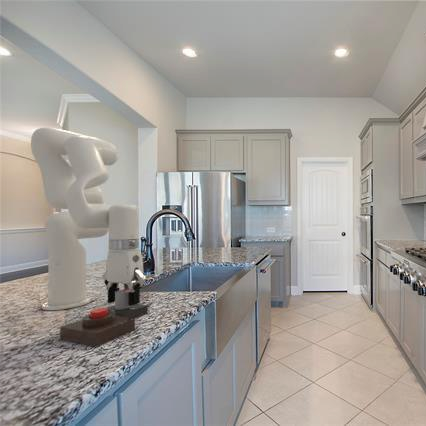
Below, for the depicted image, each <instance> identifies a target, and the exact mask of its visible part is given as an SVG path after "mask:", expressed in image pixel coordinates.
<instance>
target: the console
mask: <svg viewBox="0 0 426 426" xmlns="http://www.w3.org/2000/svg"><path fill="white" fill-rule="evenodd" d="M106 308H108V311H113V312H115V315H116V316H123V317H129V318H135V319H136V318H138V317H141V316H144V315H146V314H148V313H149V305H148V304H142V303H138V304H135V305H132V307H130V308H127V309H122V310H117V309H115V304H114V305H110V306H107V307H106Z"/></svg>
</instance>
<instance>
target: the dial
mask: <svg viewBox="0 0 426 426" xmlns="http://www.w3.org/2000/svg"><path fill="white" fill-rule="evenodd" d="M129 292H130V289H129V288H128V289H124V288H123V289H119V290H118V291H116V292H115V302H114V305H115V309H117V310H122V309H127V308H130V307H132V306H129V305H128V293H129Z"/></svg>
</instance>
